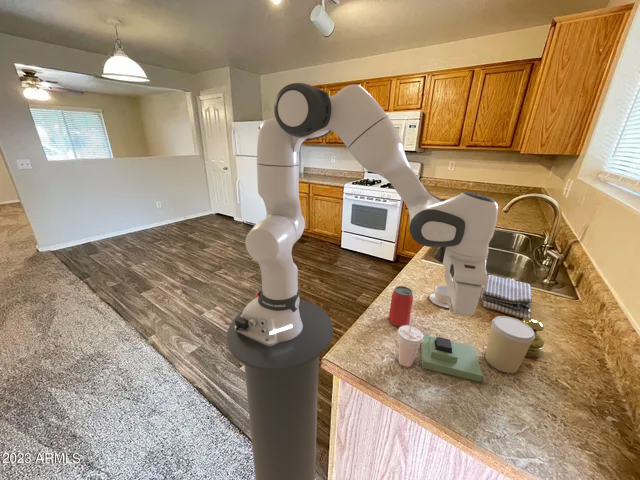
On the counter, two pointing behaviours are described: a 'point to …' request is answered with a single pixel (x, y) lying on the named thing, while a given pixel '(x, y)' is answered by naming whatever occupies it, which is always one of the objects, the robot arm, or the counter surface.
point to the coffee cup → (508, 343)
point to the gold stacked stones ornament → (538, 341)
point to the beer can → (401, 306)
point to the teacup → (440, 296)
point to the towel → (507, 296)
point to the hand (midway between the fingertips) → (452, 309)
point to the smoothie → (408, 343)
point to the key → (443, 344)
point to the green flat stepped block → (451, 359)
